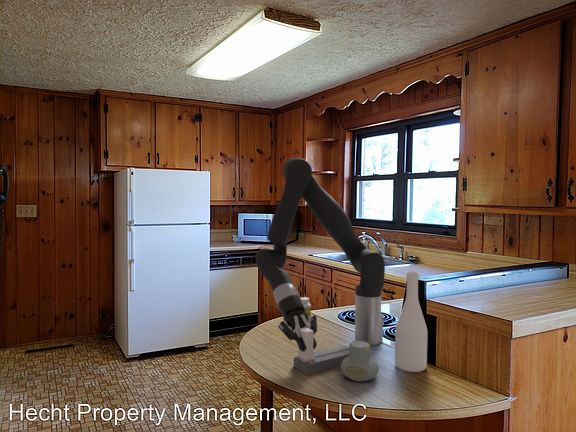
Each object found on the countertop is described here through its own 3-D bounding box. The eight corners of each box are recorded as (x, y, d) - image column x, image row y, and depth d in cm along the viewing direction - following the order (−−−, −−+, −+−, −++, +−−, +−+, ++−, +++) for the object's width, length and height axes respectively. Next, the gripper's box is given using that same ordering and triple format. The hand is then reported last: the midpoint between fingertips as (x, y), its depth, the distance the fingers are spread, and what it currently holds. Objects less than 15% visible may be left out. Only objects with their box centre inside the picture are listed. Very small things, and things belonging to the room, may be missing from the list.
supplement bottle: (305, 318, 185) (306, 296, 185) (313, 321, 181) (313, 298, 180) (295, 320, 183) (295, 297, 182) (302, 323, 178) (303, 300, 177)
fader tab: (306, 354, 136) (306, 326, 136) (315, 360, 132) (315, 331, 131) (295, 357, 134) (295, 328, 134) (304, 362, 130) (304, 333, 129)
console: (344, 353, 146) (344, 344, 145) (357, 361, 140) (358, 351, 140) (293, 366, 135) (293, 356, 135) (306, 374, 129) (306, 364, 129)
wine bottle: (427, 363, 138) (429, 269, 136) (425, 375, 129) (428, 275, 127) (396, 359, 141) (398, 267, 140) (393, 370, 133) (395, 273, 131)
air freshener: (380, 375, 129) (381, 342, 129) (374, 386, 122) (375, 351, 121) (345, 368, 134) (345, 337, 133) (337, 379, 126) (337, 346, 126)
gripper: (273, 296, 134) (294, 347, 125) (310, 291, 142) (333, 339, 132) (265, 309, 139) (285, 359, 130) (301, 303, 147) (323, 350, 137)
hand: (309, 348), depth 131 cm, fingers closed on fader tab, 3 cm apart
